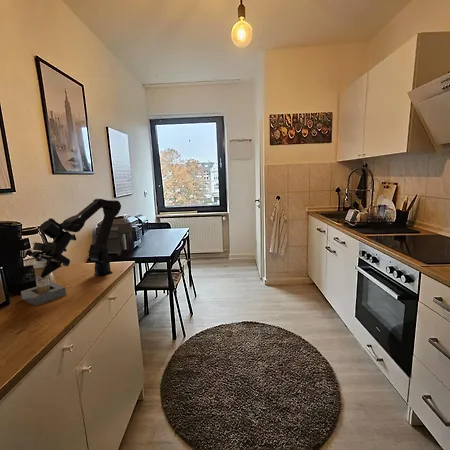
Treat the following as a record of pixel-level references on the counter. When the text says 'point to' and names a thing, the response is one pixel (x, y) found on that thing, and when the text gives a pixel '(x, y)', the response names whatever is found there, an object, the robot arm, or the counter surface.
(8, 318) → the counter surface
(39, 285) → the sprinkles bottle
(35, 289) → the block
